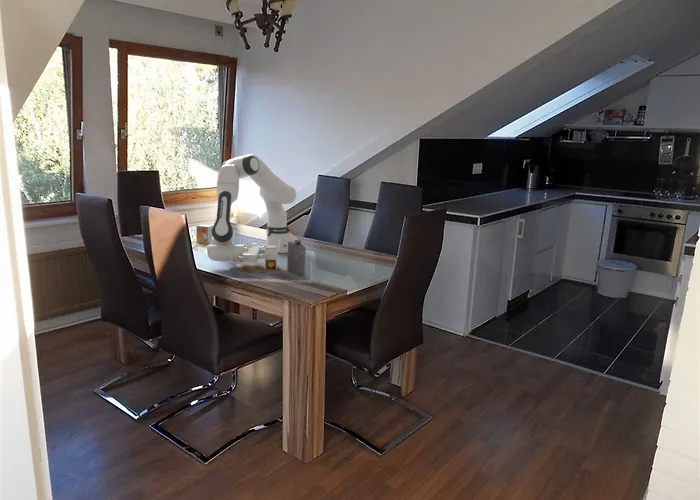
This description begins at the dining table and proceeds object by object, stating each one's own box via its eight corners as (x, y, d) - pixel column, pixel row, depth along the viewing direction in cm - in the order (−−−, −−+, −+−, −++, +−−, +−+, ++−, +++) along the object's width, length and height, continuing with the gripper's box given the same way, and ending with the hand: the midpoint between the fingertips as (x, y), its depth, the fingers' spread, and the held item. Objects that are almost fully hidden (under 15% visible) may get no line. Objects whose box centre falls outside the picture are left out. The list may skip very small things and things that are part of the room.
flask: (292, 272, 273) (293, 237, 269) (306, 279, 262) (308, 242, 258) (286, 272, 271) (287, 237, 267) (300, 280, 260) (301, 243, 256)
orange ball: (273, 266, 277) (273, 259, 276) (275, 268, 274) (275, 261, 273) (266, 267, 275) (266, 260, 274) (268, 268, 272) (269, 261, 271)
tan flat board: (272, 263, 287) (272, 261, 287) (284, 272, 272) (284, 269, 272) (235, 266, 278) (235, 264, 278) (245, 275, 262) (245, 273, 262)
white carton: (265, 266, 277) (266, 245, 275) (277, 266, 277) (277, 245, 275) (264, 269, 271) (265, 247, 269) (276, 269, 272) (277, 248, 269)
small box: (196, 242, 328) (196, 225, 326) (201, 241, 333) (201, 224, 331) (207, 244, 326) (207, 226, 324) (212, 242, 331) (212, 225, 329)
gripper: (237, 251, 261) (266, 252, 262) (243, 243, 281) (270, 243, 282) (237, 264, 262) (266, 265, 263) (242, 254, 282) (269, 255, 283)
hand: (268, 254), depth 273 cm, fingers open, 8 cm apart
